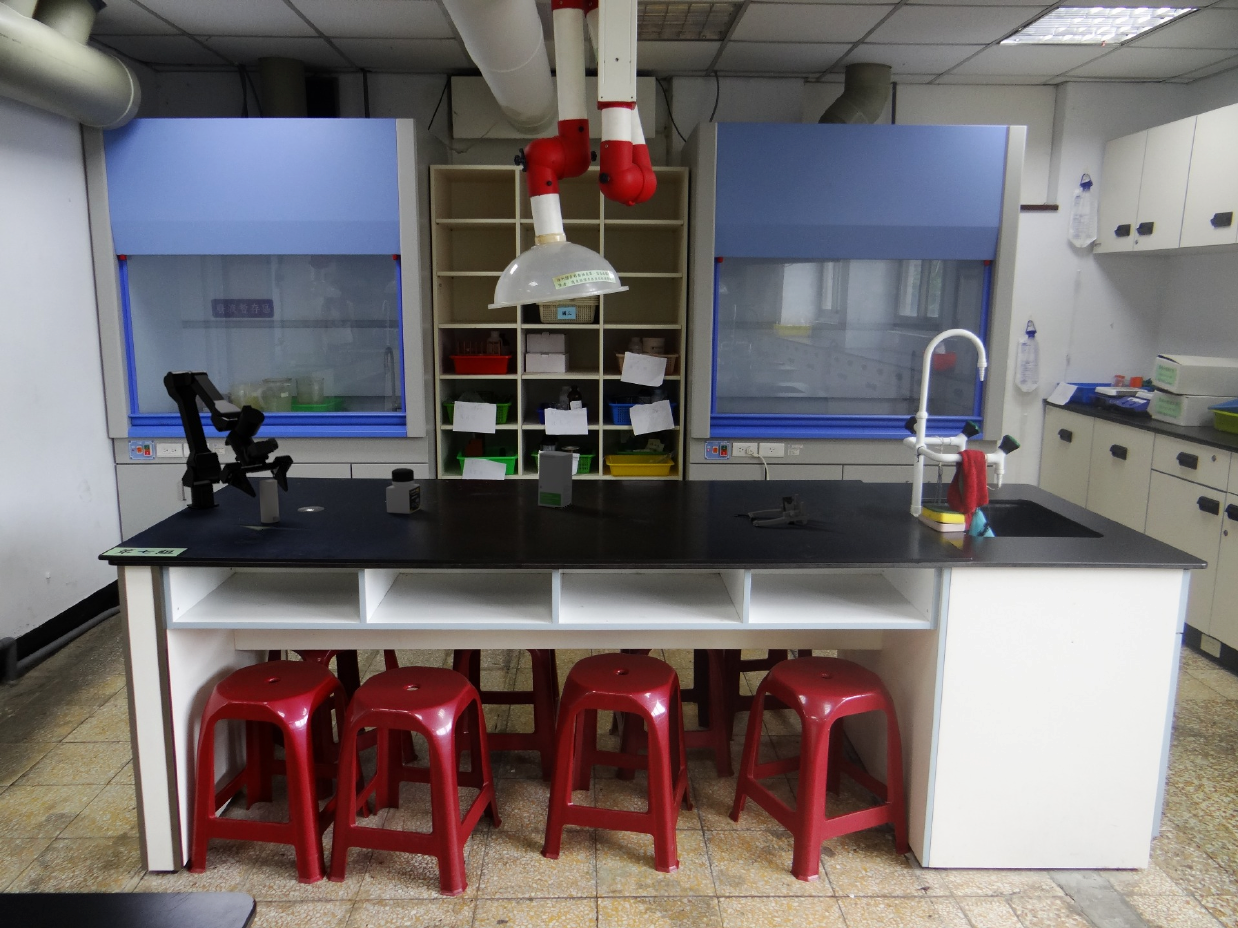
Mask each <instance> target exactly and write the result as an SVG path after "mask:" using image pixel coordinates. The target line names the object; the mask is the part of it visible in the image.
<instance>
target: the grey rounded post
mask: <svg viewBox="0 0 1238 928" xmlns="http://www.w3.org/2000/svg"><path fill="white" fill-rule="evenodd" d="M258 487H259V488H258V489H259V502H260V503H259V504H260V505H259V506H260V520H261V523H263V524H273V523H277V522H279V521H280V512H279V511H280V510H279V508H280V507H279V495H278V494H279V490H278V483H277V480H275V479H271V478H270V479H262V480H259V481H258Z"/></svg>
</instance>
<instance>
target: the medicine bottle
mask: <svg viewBox="0 0 1238 928" xmlns="http://www.w3.org/2000/svg"><path fill="white" fill-rule="evenodd" d="M391 484H392V485H390V486H387V487H386V488H385V495H386V512H387V513H389V514H390V513H392V514H407V515H408V514H410V515H411V514H412V513H414V512H416V511H418V510H420V509H421V485H420V484H419V483H415V473H414V469H412V468H409V467H398V468H395V469H393V470H392V471H391Z"/></svg>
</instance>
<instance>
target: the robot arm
mask: <svg viewBox="0 0 1238 928" xmlns="http://www.w3.org/2000/svg"><path fill="white" fill-rule="evenodd" d="M163 385H164V387H165V389H166V393H167V394H168V396H169V397H170V398H171V399H172V400H173V401H174V402H175V403H176V404H177V409H178V412H179V416H180V420H181V424H182V428H183V431H184V435H185V438H186V443H187V444H186V445H187V447H188V450H189V454H188V457H187V458H186V462H185V464H186V470H185V472H184V473H183V475H182V477H181V483H182V486H183V487H185V488H189V489H190V499H191V503H187V504H186V507H187V508H192V509H196V510H201V509H206V508H211V507H216V506H217V507H218V506H220V503H219V502H215V491H214V485H219V484H220V483H221V484H222V485H228V486H233V487H234V488H236V489H238V490H240V491H242V492H243V493H245V494H247V495H248V496H250V497H252V498H254V499H255V498H256V497H257V493H256V491H255V489H254V487H253V486H252V484H251V481H250V480H249V479H248V476H247V474H256V473H261V472H262V473H263V472H270V474H271V475H273V480H277V485H278V486H279V487H280V488H281V489H282V491H283V492H285V493H287V492H289V485H288V479H287V473H288V471H289V470H290V468H291V467H292V465H293V464H294V459H293V458H292V456H291V455H289V454H285V455H283V454H282V455H277V456H275V457H274V459H273V461H271V462H267V461H268V460H269V459H270V454H272V453H274V452H275V451H276V450H278V449H279V447H280V445H279V443H278V441H277V440H276V438H275V437H270V438H269V437H268V438H267V439H266V440H259V441H255V440H254V439H253V437H255V436H257V434H258V433H259V431H260V429H261V428H262V425H263V424H264V422H265V420H266V416H265V414H264V412H262V411H261V410H259V409H257V408H255V407H253V406H252V405H251V404H244V405H243V406H242V407H241V409H240V408H239V407H238V406H237V405H235V404H233V403H230V402H228V401H227V400H226V398H225V397H224V396H223V395H222V394H221V392H220V391H219V390H218V389H217V387H216V386H215V385H214V383H213V382H212V381H211V379H210V378H209V375H208V373H207V371H205V370H203V369H202V370H201V369H200V370H198V369H197V370H196V369H195V370H173V371H168V372H167V373H166V375H164V376H163ZM197 397H198V398H199V399H200V400H201V402H203V404H204V405H205V406H206V408H207V409H208V411H209V412H210V422H211V423H212V426H213V427H214V429H215V430H216V431H217V432H218V433H224V432H225V433H226V432H227V433H228V434H227V435H225V437H226V438H225V440H224V446H225V447H231V450H232V451H233V452H234V455H235V457H234V461H235V462H226V463H225V464H224V466H223V467H222V464H221V462H220V459H219V455H218V452H216V451H212V450H211V449H210V448H209V446H208V441H207V439H206V435H205V430H204V427H203V422H202V419H201V414H200V412H199V411H200V410H199V407H198V404H197Z"/></svg>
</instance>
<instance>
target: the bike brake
mask: <svg viewBox="0 0 1238 928" xmlns="http://www.w3.org/2000/svg"><path fill="white" fill-rule="evenodd" d="M794 498H795V499H793V497H792V496H785V497H781V499H782V500H781V501H782V504H781V505H780V508H776V509H775V508H773V509H765V510H758V511H752V512H748V513H747V514H745V513H744V514H743V513H737V514H735V515H738V516H737V517H746V518H749V517H750V519H749V521H750V520H751V521H750V522H751V523H752V522H753V523H752V525H756V526H759V527H760V526H761V527H762V526H771V525H778V524H782V523H786V524H787V523H796V524H797V521H801V523H802V525H804V524H805V525H806V524H807V523H808V521H809V519H810V514H809V513H806V503H805V501H801V502H800V497H799V494H798V493H797V494H796V493H795V494H794ZM766 515H782V517H778V518H773V519H769V520H756V518H755V517H759V516H766Z"/></svg>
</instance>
